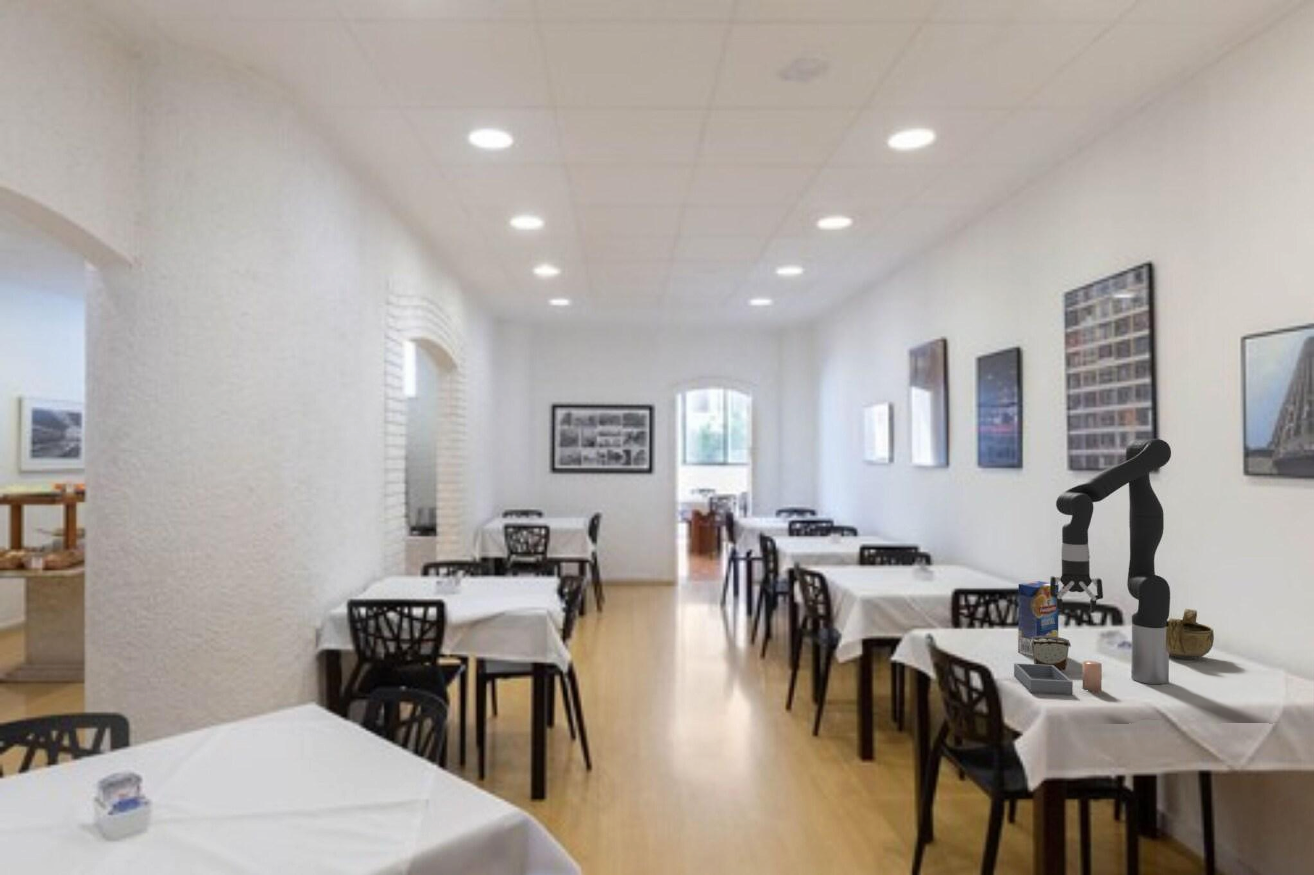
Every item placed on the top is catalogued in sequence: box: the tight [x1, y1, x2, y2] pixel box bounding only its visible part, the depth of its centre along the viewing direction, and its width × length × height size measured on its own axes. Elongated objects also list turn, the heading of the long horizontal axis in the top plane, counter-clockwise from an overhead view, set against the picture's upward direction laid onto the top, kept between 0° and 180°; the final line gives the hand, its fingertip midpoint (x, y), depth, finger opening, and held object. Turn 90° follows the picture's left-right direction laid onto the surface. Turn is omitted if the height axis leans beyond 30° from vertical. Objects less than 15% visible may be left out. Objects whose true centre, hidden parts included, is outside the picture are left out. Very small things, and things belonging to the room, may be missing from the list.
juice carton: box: [1017, 580, 1060, 657], centre depth 286 cm, size 12×8×24 cm, turn 121°
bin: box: [1013, 662, 1074, 696], centre depth 248 cm, size 12×18×4 cm, turn 171°
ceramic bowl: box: [1166, 608, 1215, 660], centre depth 281 cm, size 22×17×15 cm
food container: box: [1030, 636, 1072, 672], centre depth 267 cm, size 12×6×10 cm, turn 84°
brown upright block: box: [1082, 660, 1103, 693], centre depth 244 cm, size 5×5×8 cm
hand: (1076, 611), depth 247 cm, fingers open, 8 cm apart
